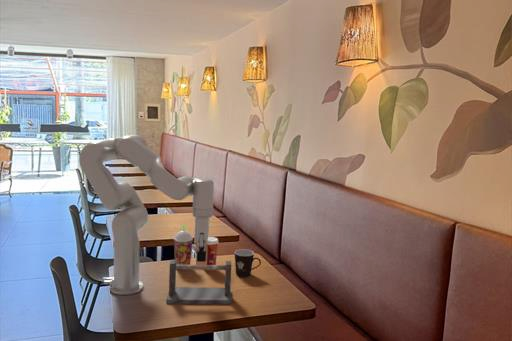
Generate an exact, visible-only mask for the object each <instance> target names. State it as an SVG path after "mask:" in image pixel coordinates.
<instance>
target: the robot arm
mask: <svg viewBox="0 0 512 341" xmlns="http://www.w3.org/2000/svg"><path fill="white" fill-rule="evenodd" d="M119 159H121V160H122V159H124V160H126V161H127V162H128V163H129V164H131V165H133V166H134V167H135V168H136V169H138V170H140V171H141V172H142V173H144V174H145V175H146V176H147V178H148V180H149V181H150V183H151V184H152V185H153V186H154V187H155V188H156V189H158V191H160V192H161V193H163V194H164V195H166V196H167V197H168V198H170V199H173V200H175V201H182V200H185V199H186V198H187V197H191V196H192V217H193V218H194V235H193V236H194V237H193V239H194V241H193V242H194V244H195V245H197V243H198V251H197V261H199V262H205V261H206V251H205V244H206V243H207V241H208V237H209V234H210V219H211V218H212V217H213V216H214V189H215V188H214V187H215V185H214V181H213V180H212V179H211V178H197V177H193V176H188V175H184V176H181V177H178V178H177V177H176V176H174V174H172V173H170V172H169V171H168V170H167V169H166V168H165V167H164V166H163V163H162V162H163V161H162V157H161V156H160V154H158V153H156V152H155V151H153V150H152V149H150V148H149V147H148V143H147V140H146V139H145V137H143V136H141V135H138V134H130V135H125V136H121V137H113V138H105V139H97V140H96V139H95V140H93V141H90V142H88V143H86V144H85V145H84V146H83V147H82V149H81V150H80V153H79V159H78V160H79V161H78V162H79V166H80V168H81V170H82V173H83V174H84V176H85V177H86V179H87V180H88V182H89V184H90V185H91V187H92V188H93V190H94V192H95V194H96V195H97V197H98V198H99V201H100V202H101V203H102V204H101V205H103V207H104V208H105V209H106V210H108V211H117V210H119V209H120V211H119V212H118V213H117V214H116V215H115V216H114V217H113V218H112V222H111V231H112V237H113V238H112V239H113V276H111V277H107V276H104V277H102V283H103V284H104V285H110V286H109V292H111V293H112V294H114V295H119V296H122V295H123V296H126V295H127V296H128V295H133V294H137V293H138V292H141V291H142V290H143V289H144V283H143V282H142V281H140V238H139V234H138V231H139V230H140V229H141V228H143V227H144V226H145V225H146V224H147V223H148V222H149V213H148V210H147V209H146V207H145V204H144V203H143V201H142V200H141V198H140V196H139V194H138V192H137V191H136V189H135V188H134V187H133V186H132V185H131V184H129V183H127V182H124V181H122V182H121V181H120V182H117V180H116V178H115V177H114V175H113V173H112V172H111V170H110V169H109V168H107V167H106V166H105V164H104V163H105V162H109V161H114V160H119ZM199 244H200V246H199ZM203 245H204V246H203Z"/></svg>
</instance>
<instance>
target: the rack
mask: <svg viewBox="0 0 512 341" xmlns="http://www.w3.org/2000/svg"><path fill="white" fill-rule="evenodd" d="M180 269H182V271H184V270H185V271H186V270H189V271H190V270H192V271H195V270H196V271H198V270H199V271H205V270H213V271H224V272H225V273H224V274H225V276H224V278H225V279H224V287H203V286H200V287H197V286H194V287H193V286H186V287H185V286H184V287H183V286H176V281H177V280H176V277H177V273H176V272H177V270H180ZM168 275H169V278H168V279H169V280H168V281H169V283H168V284H169V286H168V292H167V296H166V304H183V305H184V304H187V305H188V304H191V305H192V304H195V305H196V304H197V305H199V304H200V305H202V304H205V305H211V304H213V305H232V288H231V285H232V284H231V280H232V261H231V260H226V261H225V265H223V264H221V265H219V264H218V265H217V264H216V265H207V267H196V264H190V265H176V260H175V259H170V262H169V274H168Z"/></svg>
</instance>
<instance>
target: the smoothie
mask: <svg viewBox="0 0 512 341" xmlns="http://www.w3.org/2000/svg"><path fill="white" fill-rule="evenodd" d="M193 239H194V237H193V236H192V234H191V233H190V231H188V230H185V224H184V223H183V224H182V230H179V231H178V232H176V234H175V235H174V236H173V245H174V247H173V248H174V260H176V265H191V259H192V252H193V251H192V247H193ZM179 270H182V269H179ZM182 271H183V270H182Z"/></svg>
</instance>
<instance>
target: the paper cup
mask: <svg viewBox="0 0 512 341" xmlns="http://www.w3.org/2000/svg"><path fill="white" fill-rule="evenodd" d="M207 243H208V247H207V265H217V256H218V245H219V239H218V238H217V237H214V236H208V241H207ZM204 271H206V272H214V270H204Z"/></svg>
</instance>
